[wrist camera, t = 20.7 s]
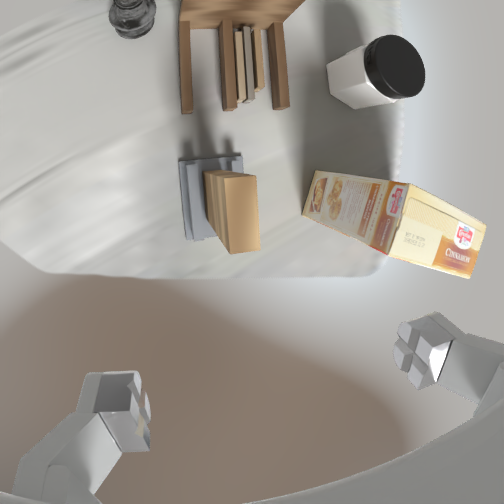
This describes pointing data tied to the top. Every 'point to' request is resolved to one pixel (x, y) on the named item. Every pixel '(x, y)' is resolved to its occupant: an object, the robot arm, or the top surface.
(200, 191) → the slate holder
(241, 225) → the wooden block
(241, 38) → the offcut boards
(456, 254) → the coffeecake box
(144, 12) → the salt shaker
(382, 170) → the top surface
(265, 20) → the walnut rack
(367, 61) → the jar
